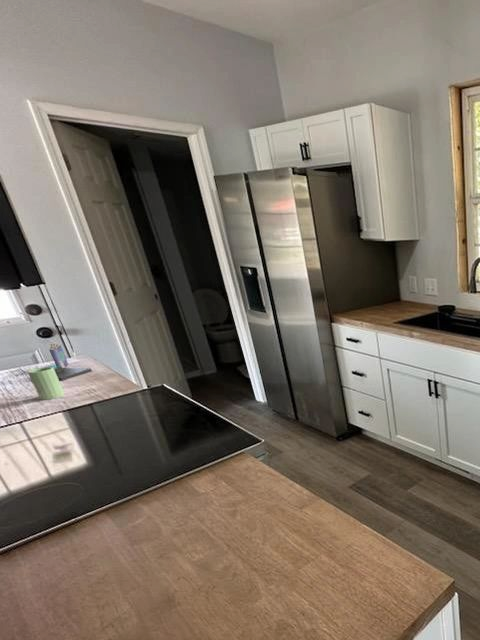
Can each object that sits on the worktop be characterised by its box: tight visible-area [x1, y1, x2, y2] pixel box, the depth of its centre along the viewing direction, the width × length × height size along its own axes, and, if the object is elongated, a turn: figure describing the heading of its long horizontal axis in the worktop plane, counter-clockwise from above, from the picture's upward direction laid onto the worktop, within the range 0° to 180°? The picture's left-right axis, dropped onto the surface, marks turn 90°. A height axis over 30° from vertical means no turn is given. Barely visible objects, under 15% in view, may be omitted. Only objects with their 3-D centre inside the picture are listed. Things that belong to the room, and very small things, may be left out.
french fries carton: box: [48, 342, 69, 368], centre depth 174 cm, size 9×3×11 cm, turn 37°
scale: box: [54, 366, 93, 382], centre depth 165 cm, size 13×11×3 cm
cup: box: [27, 366, 66, 401], centre depth 143 cm, size 6×6×10 cm
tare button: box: [45, 364, 57, 369], centre depth 164 cm, size 3×3×2 cm
